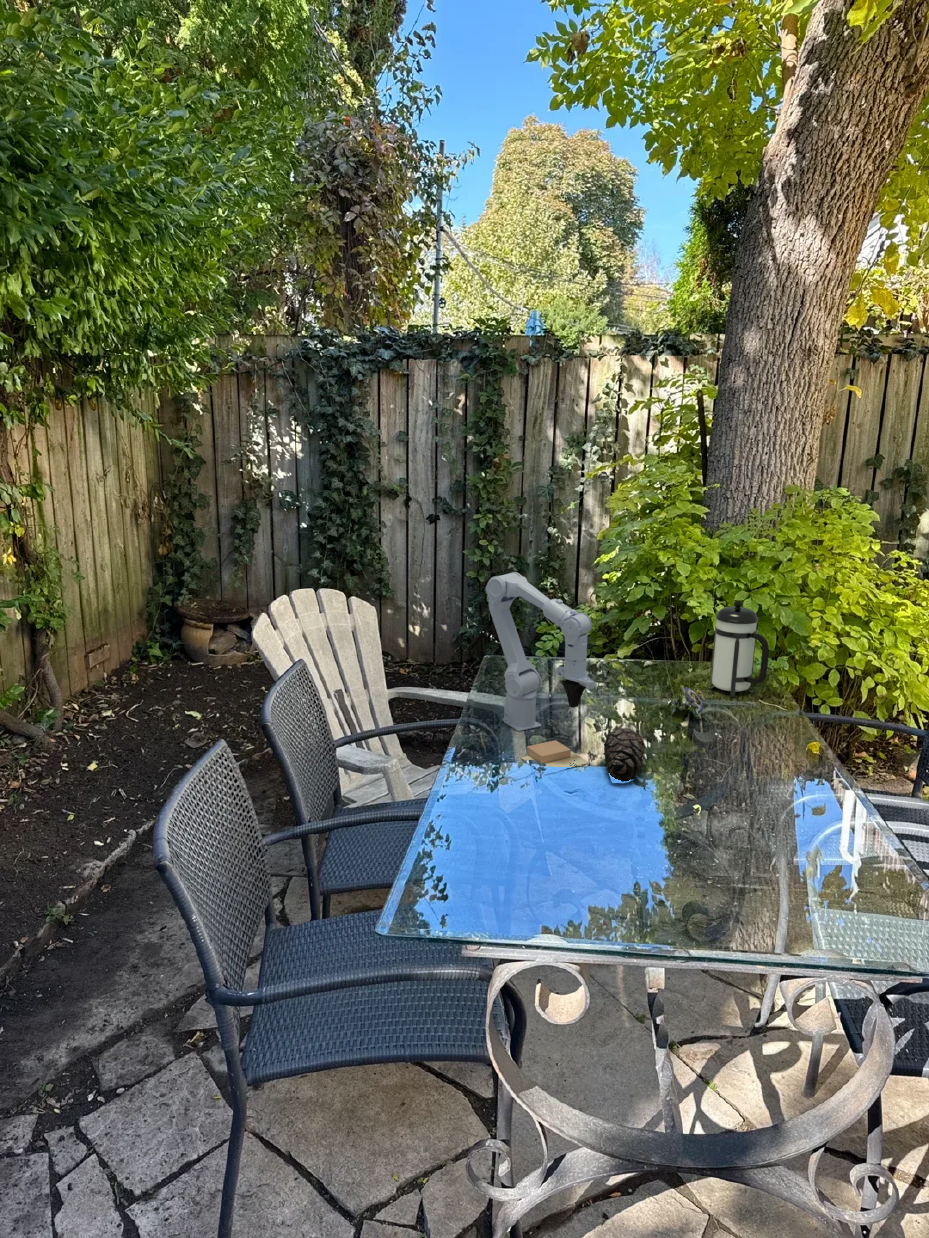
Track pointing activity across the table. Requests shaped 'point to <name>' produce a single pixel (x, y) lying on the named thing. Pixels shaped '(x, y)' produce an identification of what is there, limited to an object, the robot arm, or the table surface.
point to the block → (548, 751)
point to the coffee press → (737, 650)
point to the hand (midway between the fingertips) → (573, 706)
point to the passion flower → (688, 701)
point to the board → (563, 761)
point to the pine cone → (623, 753)
